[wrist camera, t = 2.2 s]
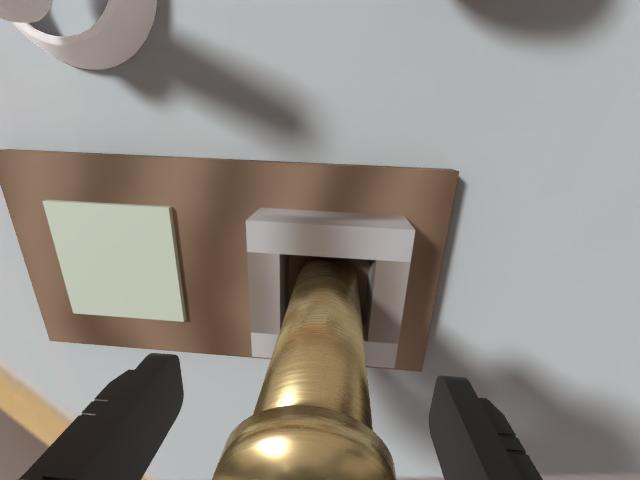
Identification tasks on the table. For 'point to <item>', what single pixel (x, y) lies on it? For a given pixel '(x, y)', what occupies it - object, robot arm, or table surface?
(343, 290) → the brass peg
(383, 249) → the walnut board
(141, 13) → the white vr controller
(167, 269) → the sage pad
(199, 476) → the table surface
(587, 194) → the table surface
